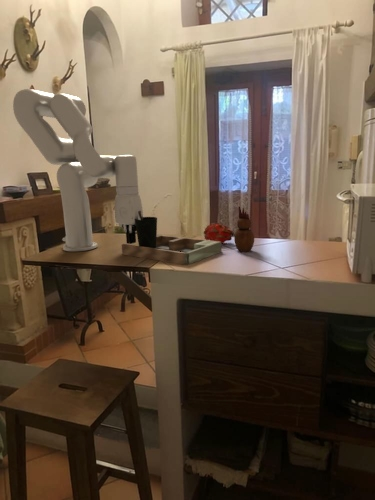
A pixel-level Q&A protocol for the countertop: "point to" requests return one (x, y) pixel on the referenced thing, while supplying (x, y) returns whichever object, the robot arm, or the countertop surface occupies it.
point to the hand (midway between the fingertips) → (131, 242)
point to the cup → (146, 231)
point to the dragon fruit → (218, 233)
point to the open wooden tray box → (175, 249)
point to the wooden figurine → (244, 233)
